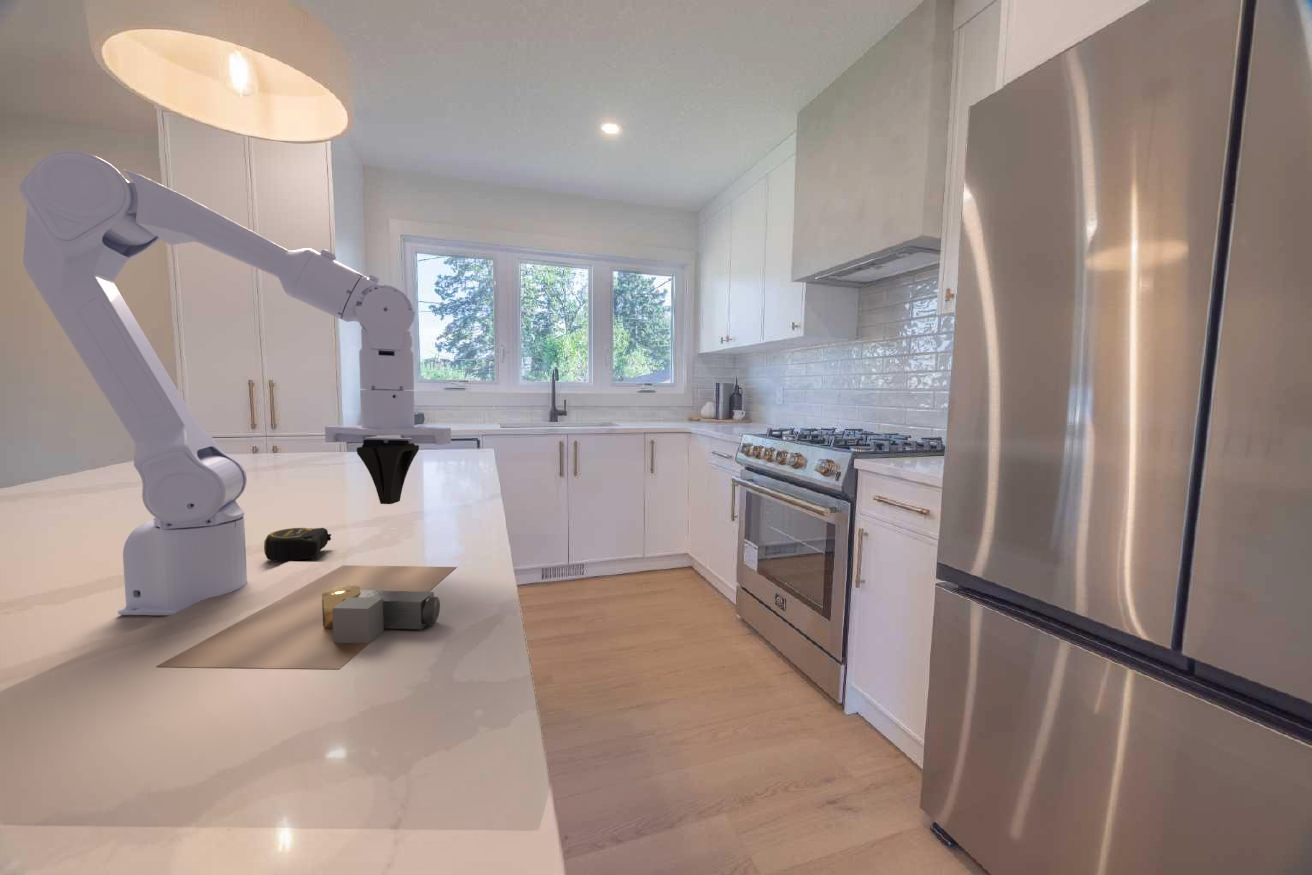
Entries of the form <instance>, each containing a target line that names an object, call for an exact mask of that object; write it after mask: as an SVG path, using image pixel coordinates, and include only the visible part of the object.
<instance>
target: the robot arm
mask: <svg viewBox="0 0 1312 875" xmlns="http://www.w3.org/2000/svg"><path fill="white" fill-rule="evenodd" d="M123 171H124V172H125V173H126V174H127V175H128V177H130V179H131V181H132V182H130V181H129V180H128V179H126V178H125V177H124V175H123V174H122V173H121V172H120V171H119V170H118V169H117V168H116V167H115V166H113V165H112V164H111V163H109V162H108V161H106V160H104V159H102V158H101V157H98V156H96V155H94V154H91V153H88V152H83V151H77V150H62V151H61V150H60V151H55V152H53V153H50V154H47V155H45V156H44V157H42V158H40V160H39V161H38V162H36V164H35V165H34V166H33V167H32V168H31V169H30V171H29V172H28V174H27V175H26V176H25V177H24V178H23V179H22V180H21V182H20V183H19V184H18V189H19V192H20V194H21V196H22V199H23V201H24V204H25V208H26V214H25V216H26V217H25V229H24V240H23V241H24V243H23V245H24V246H23V254H22V255H23V258H22V264H23V265H24V268H25V269H24V270H26V273H27V274H28V276H29V278H30V279H31V281H32V283H33V284H34V287H35V288H36V289H37V291H38V292H39V294H40V296H41V297H42V299H43V300H44V302H45V304H46V305H47V306H48V308H49V309H50V311H51V313H52V315H53V316H54V318H55V320H57V322H58V324H59V325H60V327H61V329H62V330H63V332H64V333H65V335H66V337H67V338H68V340H69V341H70V343H71V344H72V346H73V347H74V349H75V351H76V353H78V354H77V355H79V357H80V359H81V360H82V362H83V363H84V365H85V366H86V368H87V370H88V372H89V373H90V375H91V376H92V378H93V379H94V380H95V383H96V384H97V385H98V387H99V389H100V390H101V392H102V393H103V395H104V397H105V398H106V400H107V401H108V403H109V404H110V406H111V408H112V409H113V411H114V412H115V414H116V415H117V417H118V419H119V420H120V422H121V423H122V424H123V427H124V428H125V430H126V431H127V433H128V434H129V436H130V438H131V439H132V441H133V443H134V455H133V466H134V468H135V469H136V471H137V473H138V474H139V476H140V478H141V482H142V490H141V497H142V502H143V505H144V507H145V508H146V510H147V511H148V512H149V513H150V515H152V516H153V517H154V518H153V520H149V521H146V522H145V521H144V523H141V524H139V525H138V526H137V527H135V528H134V529H133V530H131V532H130V534H129V535H128V536H127V538H126V540H125V543H124V545H123V550H122V563H123V578H124V579H123V580H124V595H125V596H124V598H125V606H124V607H121V608H119V609H118V610H117V615H119V616H121V615H122V616H171V615H173V614H176V613H177V612H180V611H183V610H185V609H187V608H189V607H191V606H193V605H196V604H198V603H199V602H202V601H204V600H206V599H211V598H214V597H219V596H222V595H226V594H229V593H231V592H235V591H237V590H239V589H241V588H243V587H245V586H246V585H247V583H248V576H247V575H248V574H247V573H248V571H247V551H246V550H247V549H246V528H245V526H246V525H245V510H244V509H243V508H241V506H240V505H239V504H238V502H237V499H239V498H240V497H241V495H243V493H244V491H245V489H246V487H247V483H248V482H247V474H246V471H245V469H244V467H243V466H242V465H241V463H240V462H239V461H237V460H236V459H235V458H233V457H232V456H229V455H228V454H226V453H225V452H224V451H223V450H222V449H221V448H220V446H219V444H218V443H217V441H216V440H215V439H214V437H213V436H211V435H210V434H209V432H207V431H206V430H205V429H204V428H203V427H201V426H200V425H199V424H198V422H197V420H196V418H195V417H194V416H193V414H192V412H191V410H190V409H189V406H187V404H186V402H185V400H184V398H183V397H182V395H181V394H180V392H179V390H178V389H177V387H176V385H175V384H174V381H173V380H172V378H171V377H170V375H169V374H168V372H167V369H166V368H165V367H164V365H163V363H162V362H161V360H160V358H159V357H158V354H157V353H156V351H155V350H154V348H153V346H152V345H151V343H150V341H149V340H148V338H147V336H146V334H145V333H144V332H143V330H142V328H141V326H140V325H139V323H138V321H137V320H136V318H135V316H134V314H133V313H132V312H131V309H130V307H129V306H128V305H127V303H126V301H125V299H124V297H123V295H121V293H120V291H119V289H118V288H117V286H116V283H115V279H116V278H117V276H118V275H119V274H120V272H121V271H122V270H123V268H124V267H125V266H126V264H127V262H129V261H130V260H132V259H134V258H135V257H137V256H139V255H140V254H141V253H143V252H145V251H146V250H148V249H149V248H151V247H152V246H154V245H156V243H158V242H159V241H160V240H161V241H163V242H164V243H165V244H168V246H169V245H173V246H175V245H179V244H186V243H191V242H195V243H198V244H201V245H203V246H205V247H208V248H210V249H213V250H214V251H216V252H219V253H222V254H223V255H226V256H228V257H231V258H233V259H235V260H237V261H239V262H242V263H244V264H247V265H249V266H251V267H253V268H256V269H258V270H260V271H263V272H265V273H267V274H270V275H272V276H274V277H277V278H278V280H279V282H280V284H281V286H282V289H283V291H284V292H285V294H286V295H287V296H290V297H291V298H294V299H296V300H298V301H301V302H303V303H305V304H307V305H309V306H311V307H314V308H316V309H318V310H320V311H323V313H324V312H325V313H327V314H329V315H331V316H333V317H336V318H337V319H340V320H342V321H343V322H347V323H350V322H358V323H359V325H360V326H361V329H360V335H361V336H360V337H361V348H360V350H359V351H358V352H359V353H358V354H359V355H358V357H359V358H358V359H359V389H360V391H359V392H360V393H359V394H360V400H359V401H360V425H327V426H324V432H325V433H324V436H325V437H324V438H325V442H326V443H362V444H361V446H359V447H356V454H357V456H358V457H359V458H360V459H361V461H362V462H363V464H364V466H365V467H366V469H367V471H368V473H369V474H370V477H371V479H372V482H373V484H374V488H375V489H376V493H377V496H378V501H379V504H380V505H392V504H393V505H394V504H397V503H399V502H400V501H401V496H402V492H403V488H404V485H405V480H406V477H407V474H408V471H409V470H410V468H411V465H412V463H413V461H414V459H415V457H416V456H417V454H418V452H419V449H420V445H419V444H422V445H423V444H426V445H428V444H429V445H438V446H439V445H441V446H444V445H449V444H451V443H452V428H451V427H437V426H436V427H435V426H434V427H433V426H416V425H415V376H414V372H415V371H414V369H415V368H414V354H413V352H412V350H411V349H412V346H413V338H412V335H411V331H408V330H410V327H411V326H412V325H413V323H414V321H415V320H414V319H415V314H416V313H415V310H414V308H413V305H412V302H411V301H410V299H409V298H408V297H407V295H406V294H405V292H403V291H401V290H400V289H398V288H396V287H394V286H391V285H388V284H384V285H381V284H379V283H380V279H379V277H377V276H375V275H373V274H369V276H366V275H365V274H363V273H360V272H359V271H356V270H354V269H352V268H350V267H349V266H346V265H344V264H342V263H341V262H339V261H336V259H337V257H336V255H335V253H332V252H331V251H329V250H328V249H325V248H324V249H323V248H322V249H321V251H320V252H318V250H317V251H316V250H314V249H312V248H309V247H308V248H307V247H306V248H300V249H295V250H294V249H293V250H289V249H286V248H285V247H283V246H280V245H278V244H277V243H275V242H273V241H271V240H269V239H268V238H265V237H263V236H262V235H260V234H258V233H256V232H254V231H253V230H250V229H248V228H247V227H245V226H243V225H241V224H239V223H237V222H235V221H234V220H231V219H229V218H228V217H226V216H224V215H221V214H220V213H218V212H217V211H214V210H212V209H210V208H209V207H207V206H205V205H203V204H201V203H199V202H197V201H196V200H193V199H191V198H190V197H188V196H186V195H184V194H182V193H181V192H177V191H175V190H173V189H171V188H170V187H167V186H165V185H163V184H161V183H158V182H157V181H155V180H152V179H150V178H148V177H146V176H144V175H142V174H139V173H136V172H134V171H130V170H128V169H125V168H124V169H123ZM377 436H381V438H379V437H377ZM382 436H385V438H384V437H383V438H382ZM387 436H388V437H389V436H400V438H392V437H391V438H387ZM375 437H376V438H375Z"/></svg>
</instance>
